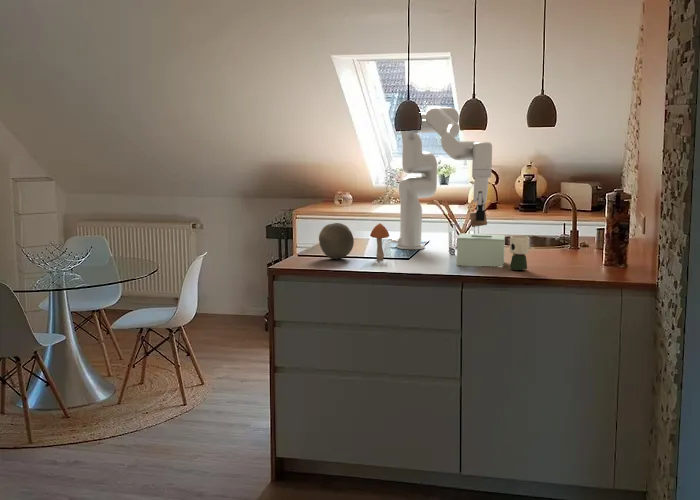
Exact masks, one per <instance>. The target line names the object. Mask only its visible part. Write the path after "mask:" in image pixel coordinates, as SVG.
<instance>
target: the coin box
mask: <svg viewBox="0 0 700 500" xmlns="http://www.w3.org/2000/svg"><path fill="white" fill-rule="evenodd" d="M505 244H506V235H505V234H486V233H483V234H482V233H463V232H462V233H459V235H458V236H457V242H456V266H459V265H461V267H463V266H464V267H481V266H491V267H490V268H496V267H495V266H503V267H504V265H503V264H505V246H506V245H505ZM492 266H494V267H492Z"/></svg>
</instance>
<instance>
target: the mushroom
mask: <svg viewBox="0 0 700 500" xmlns="http://www.w3.org/2000/svg"><path fill="white" fill-rule="evenodd" d="M369 236H370V237H371V238H375V239H376V245H377V248H376V259H377V260H378V261H379V260H384V257H385V255H384V254H385V253H384V250H383V239H386V238H389V237H390V234H389V232H388V229H387V228H386V227H385V226H384V225H383V224H382V223H378V224H376V225H375V226H374V227H373V228H372V230H371V231H370V234H369Z"/></svg>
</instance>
